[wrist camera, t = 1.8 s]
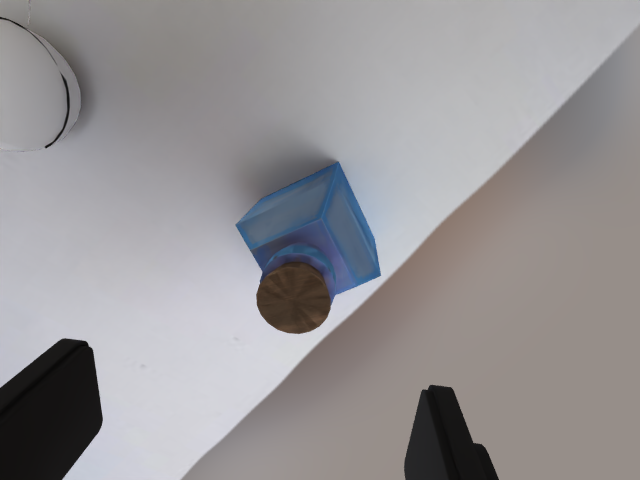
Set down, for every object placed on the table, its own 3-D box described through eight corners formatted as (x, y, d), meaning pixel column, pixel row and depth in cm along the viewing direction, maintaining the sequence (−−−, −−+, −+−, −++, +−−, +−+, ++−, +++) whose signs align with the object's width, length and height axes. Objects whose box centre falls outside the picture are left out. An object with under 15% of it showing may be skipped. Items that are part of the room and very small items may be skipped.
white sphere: (76, 167, 27) (-19, 189, 20) (-15, 95, 25) (-150, 91, 19) (148, 54, 24) (64, 32, 17) (48, -36, 22) (-87, -99, 15)
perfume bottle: (300, 270, 28) (265, 379, 17) (261, 198, 26) (193, 267, 15) (374, 238, 27) (390, 334, 15) (338, 161, 25) (327, 206, 14)
